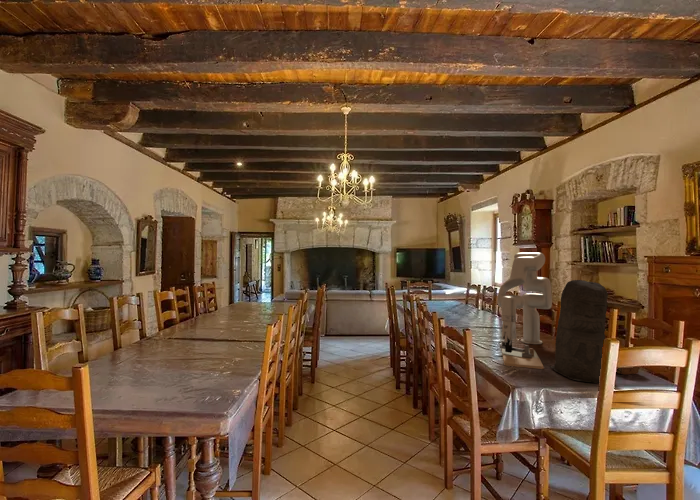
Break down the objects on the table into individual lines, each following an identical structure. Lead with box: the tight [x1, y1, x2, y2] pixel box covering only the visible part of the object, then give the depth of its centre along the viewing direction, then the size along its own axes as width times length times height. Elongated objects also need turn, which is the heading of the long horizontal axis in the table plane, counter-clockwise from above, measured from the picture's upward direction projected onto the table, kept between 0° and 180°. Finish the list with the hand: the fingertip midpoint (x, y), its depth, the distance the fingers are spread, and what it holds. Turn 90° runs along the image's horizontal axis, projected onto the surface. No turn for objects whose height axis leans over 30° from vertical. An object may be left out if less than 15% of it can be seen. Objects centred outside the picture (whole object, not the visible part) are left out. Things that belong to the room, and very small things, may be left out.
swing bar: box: [499, 341, 525, 353], centre depth 207 cm, size 13×2×4 cm, turn 41°
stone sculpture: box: [549, 279, 609, 384], centre depth 171 cm, size 24×21×45 cm
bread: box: [616, 366, 640, 376], centre depth 185 cm, size 19×11×10 cm, turn 10°
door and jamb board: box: [500, 344, 545, 370], centre depth 203 cm, size 34×18×8 cm, turn 160°
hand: (508, 352), depth 206 cm, fingers closed
